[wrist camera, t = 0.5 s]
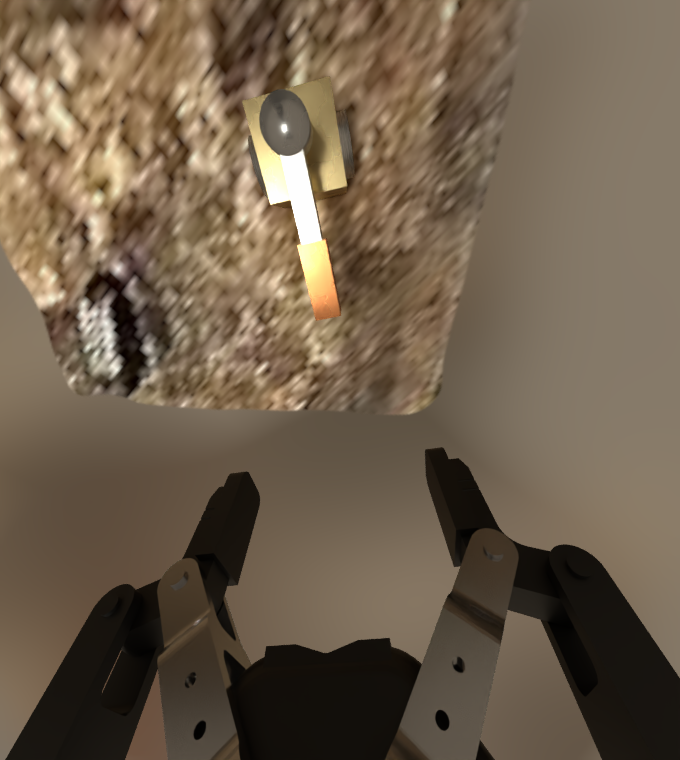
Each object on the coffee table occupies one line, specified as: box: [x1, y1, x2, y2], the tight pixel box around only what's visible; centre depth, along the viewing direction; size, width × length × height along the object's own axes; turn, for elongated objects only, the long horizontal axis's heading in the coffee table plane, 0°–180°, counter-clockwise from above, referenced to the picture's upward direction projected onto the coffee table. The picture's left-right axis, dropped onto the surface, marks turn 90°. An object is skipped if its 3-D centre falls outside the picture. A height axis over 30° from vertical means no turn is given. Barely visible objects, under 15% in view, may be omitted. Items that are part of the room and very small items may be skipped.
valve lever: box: [259, 89, 341, 320], centre depth 22 cm, size 15×3×2 cm, turn 11°
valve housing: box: [242, 76, 355, 208], centre depth 25 cm, size 7×9×10 cm
